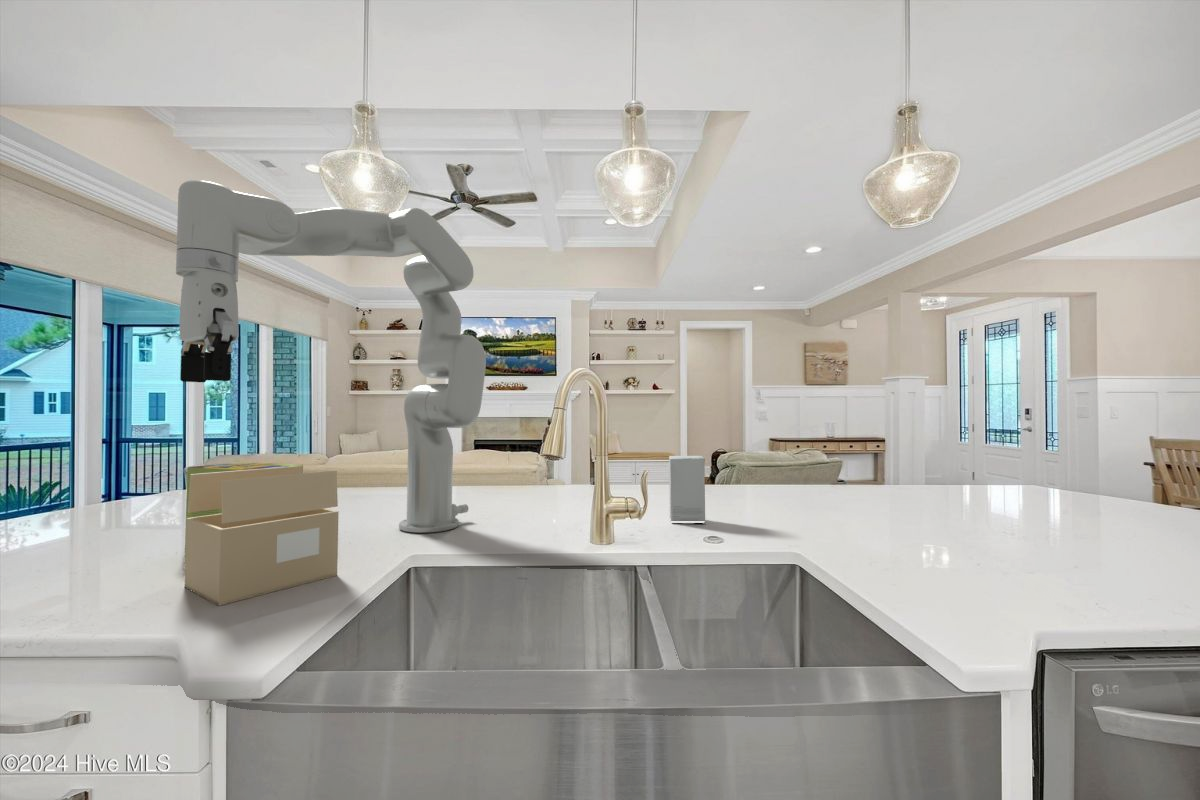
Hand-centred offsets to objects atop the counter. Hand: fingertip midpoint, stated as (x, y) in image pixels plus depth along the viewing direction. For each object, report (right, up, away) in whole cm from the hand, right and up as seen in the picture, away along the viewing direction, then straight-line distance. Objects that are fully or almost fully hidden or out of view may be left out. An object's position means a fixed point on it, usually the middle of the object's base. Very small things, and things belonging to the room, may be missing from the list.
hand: (204, 381), depth 79 cm
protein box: (-6, -31, +18) cm, 36 cm away
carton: (+9, -30, 0) cm, 31 cm away
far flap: (+4, -17, +4) cm, 18 cm away
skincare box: (+80, -32, +47) cm, 98 cm away
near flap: (+13, -17, -3) cm, 21 cm away
